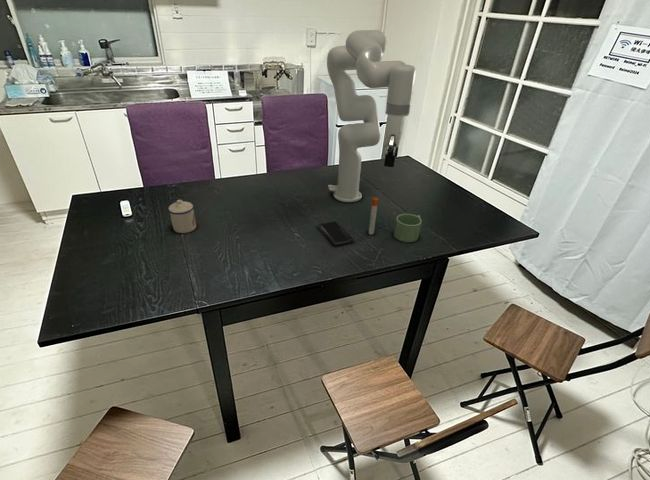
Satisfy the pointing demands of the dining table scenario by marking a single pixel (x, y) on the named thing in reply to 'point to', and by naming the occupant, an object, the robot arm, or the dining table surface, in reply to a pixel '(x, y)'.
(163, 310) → the dining table surface
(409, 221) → the mug
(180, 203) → the teacup with lid
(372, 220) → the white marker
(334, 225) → the phone
